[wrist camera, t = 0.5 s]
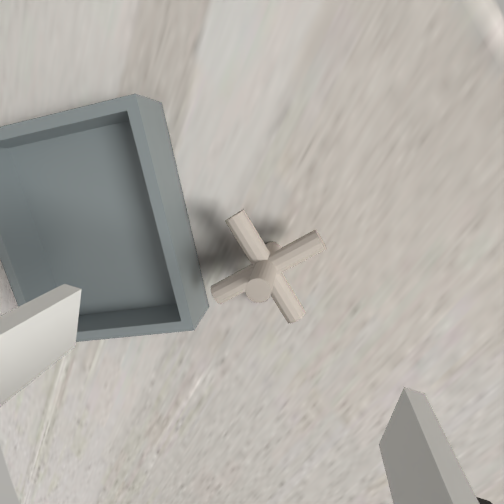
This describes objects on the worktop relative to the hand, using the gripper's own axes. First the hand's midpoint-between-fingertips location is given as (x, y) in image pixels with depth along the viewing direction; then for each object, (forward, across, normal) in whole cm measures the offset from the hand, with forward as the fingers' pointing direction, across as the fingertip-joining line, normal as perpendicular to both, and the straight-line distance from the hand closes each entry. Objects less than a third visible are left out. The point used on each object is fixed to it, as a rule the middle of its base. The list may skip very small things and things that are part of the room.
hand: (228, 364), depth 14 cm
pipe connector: (+21, 0, -1) cm, 21 cm away
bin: (+20, -17, -3) cm, 26 cm away
